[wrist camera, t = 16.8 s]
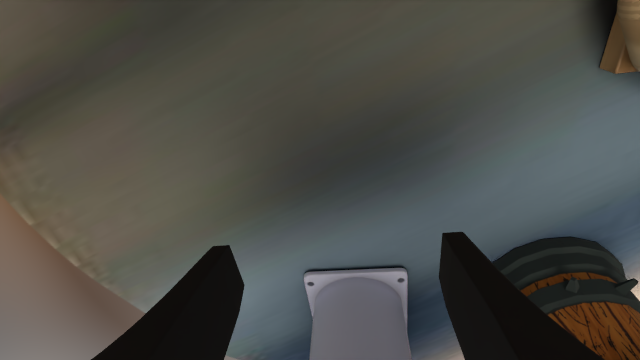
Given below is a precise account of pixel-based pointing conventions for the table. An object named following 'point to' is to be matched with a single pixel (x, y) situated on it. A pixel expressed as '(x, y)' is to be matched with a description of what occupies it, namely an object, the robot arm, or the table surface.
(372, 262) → the table surface
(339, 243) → the table surface
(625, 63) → the peg stand
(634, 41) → the ring
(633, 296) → the mug
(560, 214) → the table surface
